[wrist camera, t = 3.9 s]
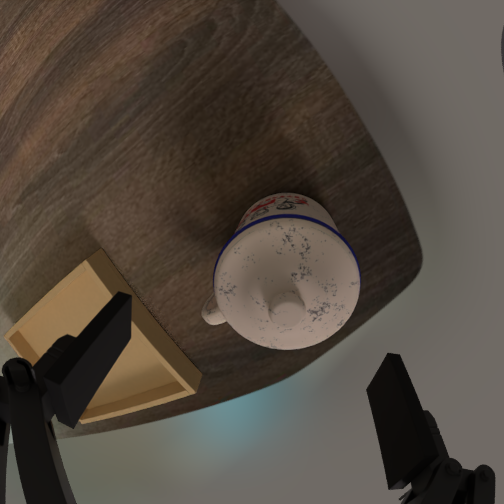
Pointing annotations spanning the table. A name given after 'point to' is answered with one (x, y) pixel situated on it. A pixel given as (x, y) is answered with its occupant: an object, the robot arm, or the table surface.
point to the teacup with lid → (285, 275)
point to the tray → (133, 356)
